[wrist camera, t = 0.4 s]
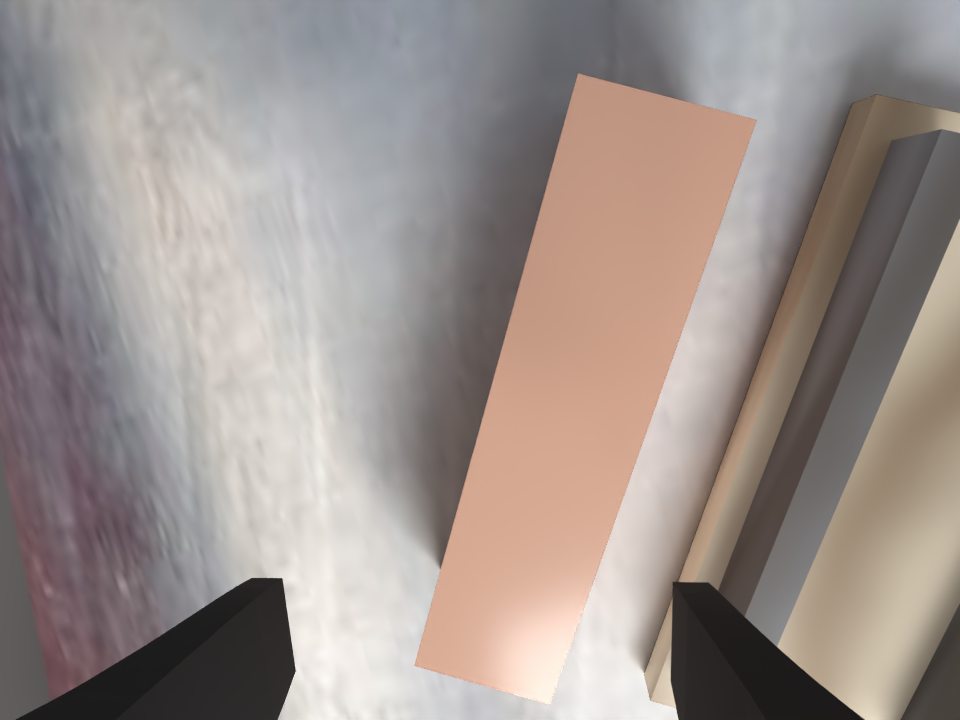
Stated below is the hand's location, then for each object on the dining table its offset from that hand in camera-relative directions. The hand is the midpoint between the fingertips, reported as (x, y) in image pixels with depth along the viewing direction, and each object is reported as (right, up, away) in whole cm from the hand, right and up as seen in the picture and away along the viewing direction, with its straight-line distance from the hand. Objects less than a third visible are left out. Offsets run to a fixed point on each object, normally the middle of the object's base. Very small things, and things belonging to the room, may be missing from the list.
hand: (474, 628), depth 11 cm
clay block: (+3, +4, +9) cm, 10 cm away
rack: (+13, +2, +8) cm, 16 cm away
